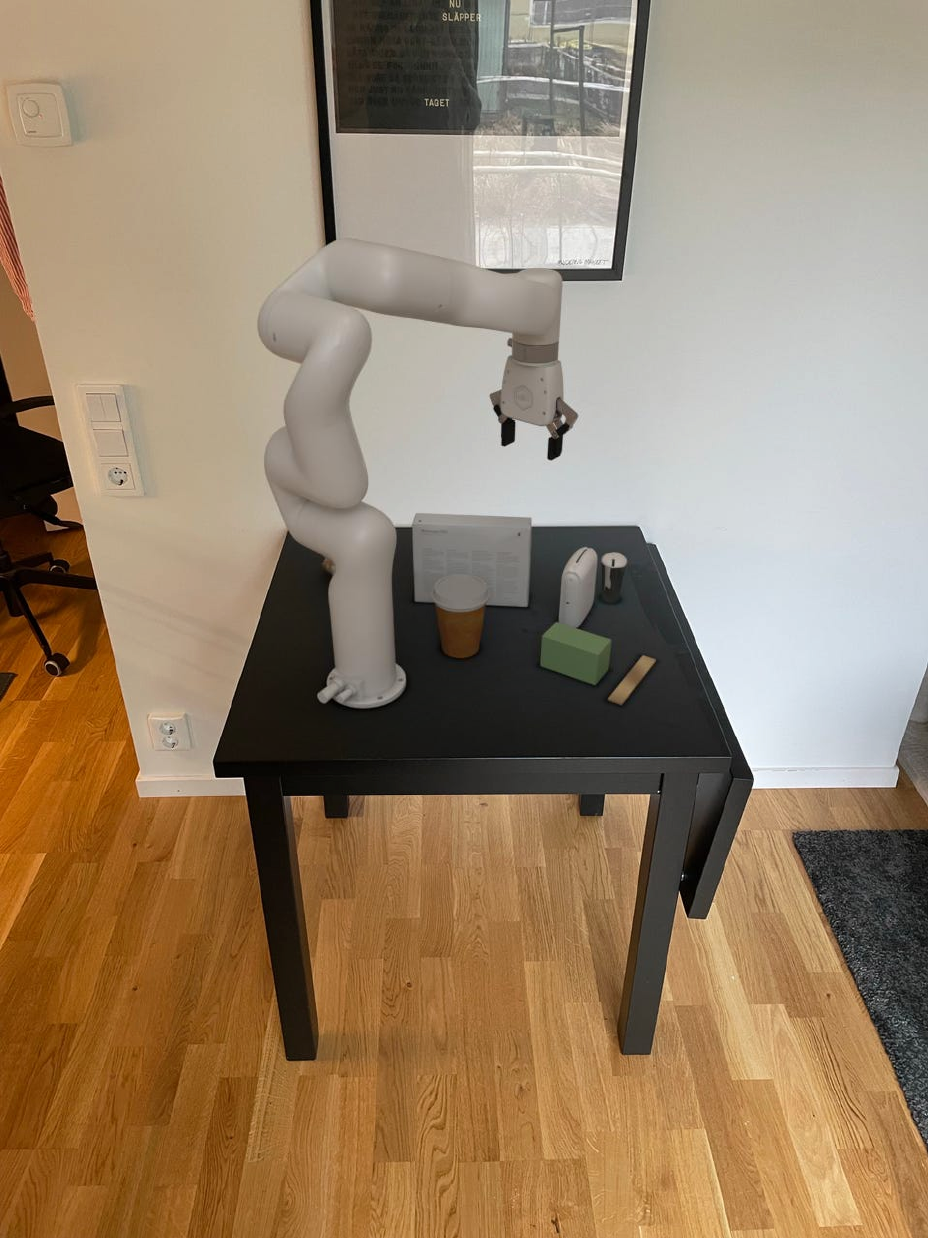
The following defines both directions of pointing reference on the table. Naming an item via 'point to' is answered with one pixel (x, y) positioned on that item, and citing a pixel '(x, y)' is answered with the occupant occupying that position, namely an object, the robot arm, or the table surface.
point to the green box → (575, 653)
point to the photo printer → (578, 587)
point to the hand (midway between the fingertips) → (530, 450)
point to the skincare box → (473, 554)
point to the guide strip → (632, 680)
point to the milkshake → (612, 576)
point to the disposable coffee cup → (460, 613)
